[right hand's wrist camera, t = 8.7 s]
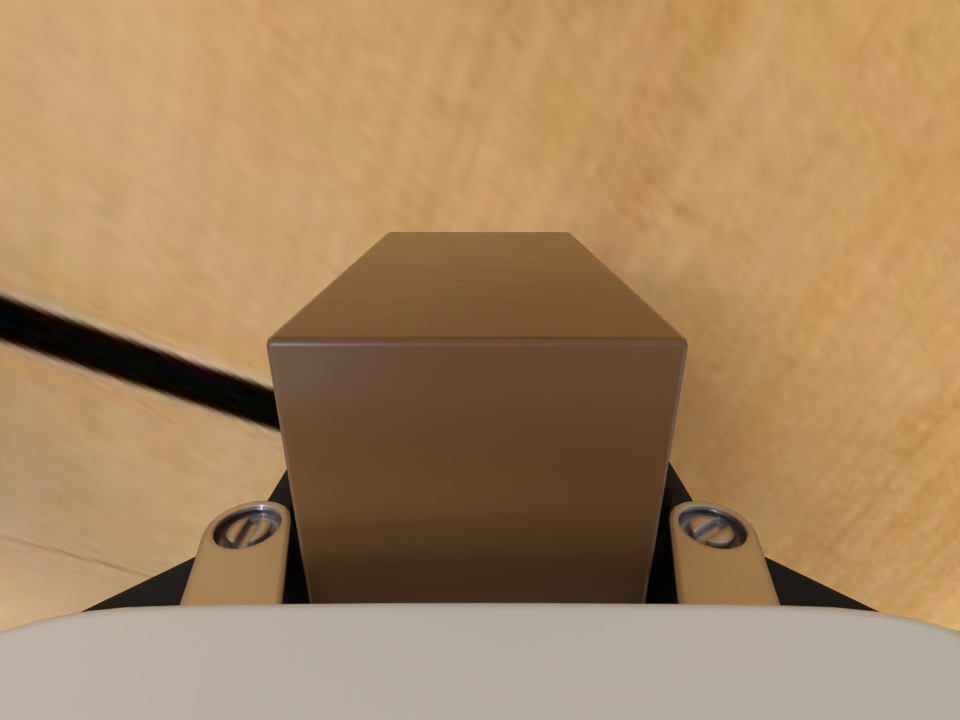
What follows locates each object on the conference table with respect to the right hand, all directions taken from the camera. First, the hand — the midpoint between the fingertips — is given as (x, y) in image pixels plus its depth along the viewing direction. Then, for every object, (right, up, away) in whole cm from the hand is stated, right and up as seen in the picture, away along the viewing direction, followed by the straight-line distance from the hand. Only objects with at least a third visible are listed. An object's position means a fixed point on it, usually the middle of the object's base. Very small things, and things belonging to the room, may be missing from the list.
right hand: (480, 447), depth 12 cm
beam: (0, -26, +14) cm, 29 cm away
